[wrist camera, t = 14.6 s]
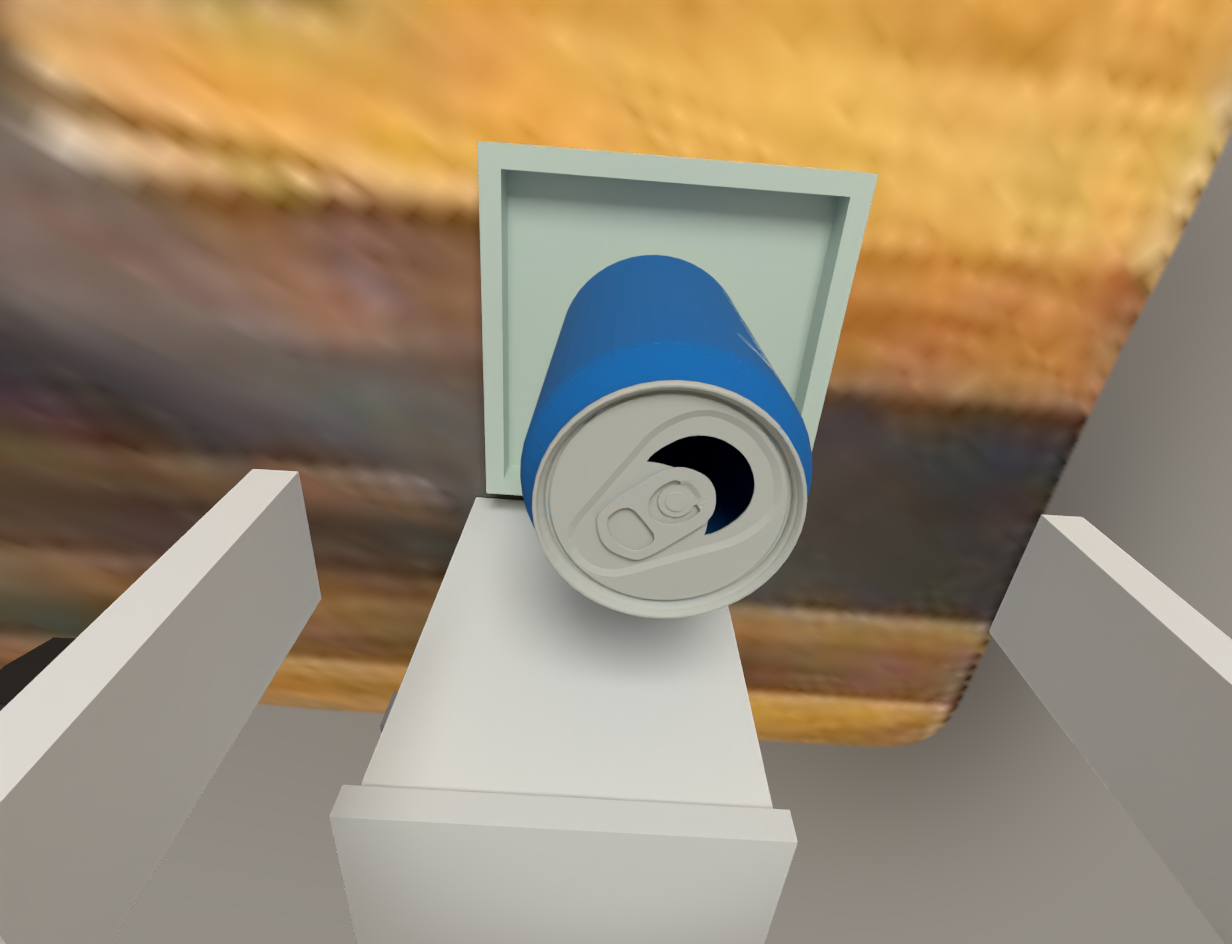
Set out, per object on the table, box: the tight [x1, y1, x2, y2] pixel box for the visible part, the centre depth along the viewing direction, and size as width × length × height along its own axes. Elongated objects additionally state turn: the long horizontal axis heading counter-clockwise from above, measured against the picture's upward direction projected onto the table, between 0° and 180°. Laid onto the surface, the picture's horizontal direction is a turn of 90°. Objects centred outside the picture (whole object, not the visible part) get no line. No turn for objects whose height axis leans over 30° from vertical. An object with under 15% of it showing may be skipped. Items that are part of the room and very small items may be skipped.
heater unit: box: [329, 497, 798, 944], centre depth 23 cm, size 11×8×15 cm
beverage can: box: [520, 255, 812, 619], centre depth 18 cm, size 6×6×12 cm
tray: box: [478, 141, 878, 496], centre depth 24 cm, size 12×12×2 cm
